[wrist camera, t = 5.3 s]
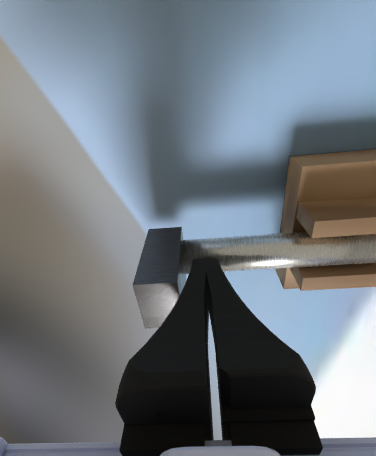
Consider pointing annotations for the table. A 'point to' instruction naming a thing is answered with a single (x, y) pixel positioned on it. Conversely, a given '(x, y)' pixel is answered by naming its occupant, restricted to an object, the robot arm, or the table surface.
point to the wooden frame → (330, 213)
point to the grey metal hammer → (232, 260)
